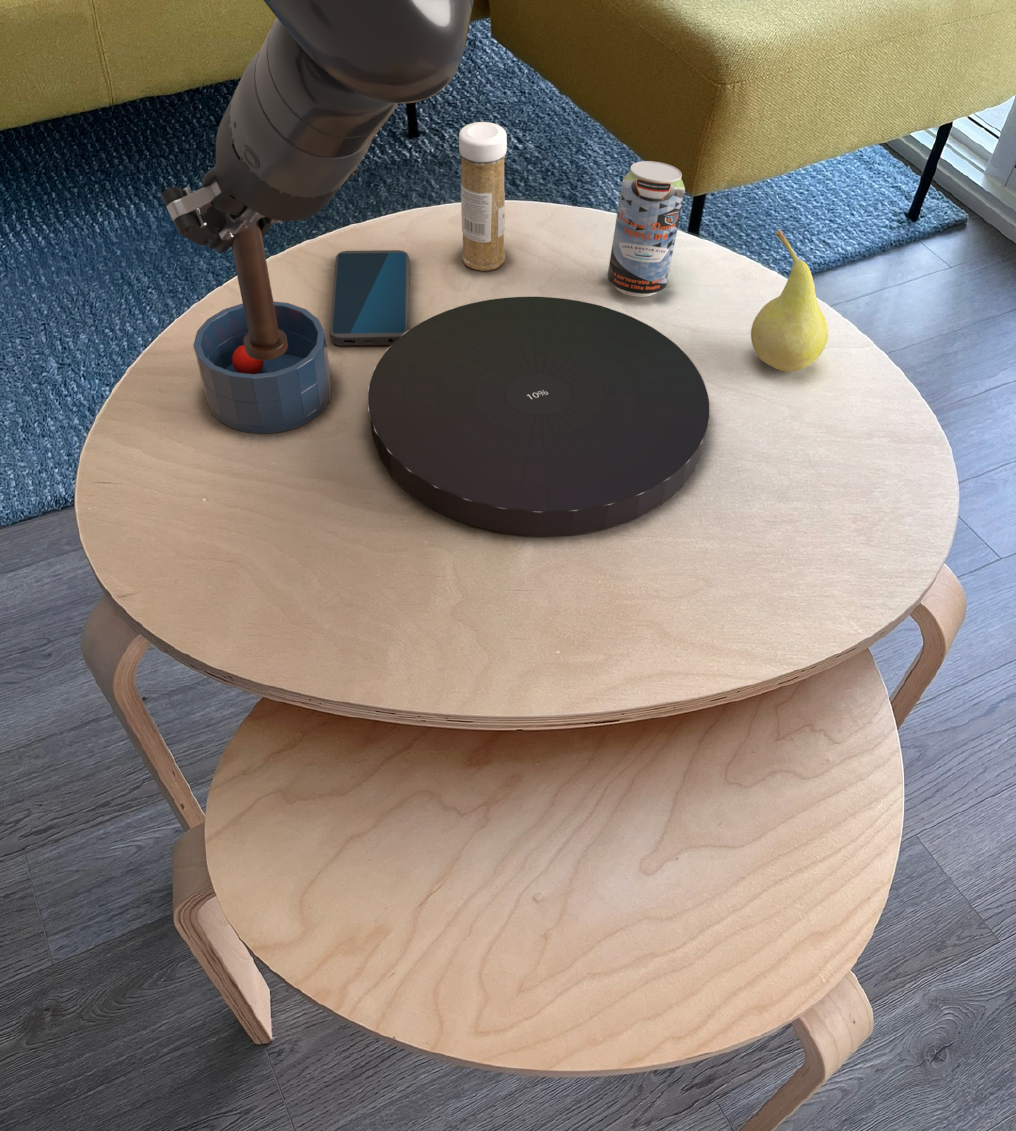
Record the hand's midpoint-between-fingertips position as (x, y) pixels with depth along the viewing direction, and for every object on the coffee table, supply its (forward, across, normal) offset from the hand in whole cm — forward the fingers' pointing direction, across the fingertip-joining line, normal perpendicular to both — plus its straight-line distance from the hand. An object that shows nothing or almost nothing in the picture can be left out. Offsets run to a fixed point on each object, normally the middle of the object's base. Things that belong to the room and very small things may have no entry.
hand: (232, 232), depth 79 cm
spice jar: (+27, -33, +4) cm, 43 cm away
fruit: (+5, -46, +26) cm, 53 cm away
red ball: (+22, -4, +5) cm, 23 cm away
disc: (+10, -22, +21) cm, 32 cm away
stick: (+4, 0, +8) cm, 9 cm away
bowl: (+22, -4, +9) cm, 24 cm away
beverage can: (+18, -44, +13) cm, 49 cm away
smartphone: (+27, -20, +4) cm, 34 cm away
